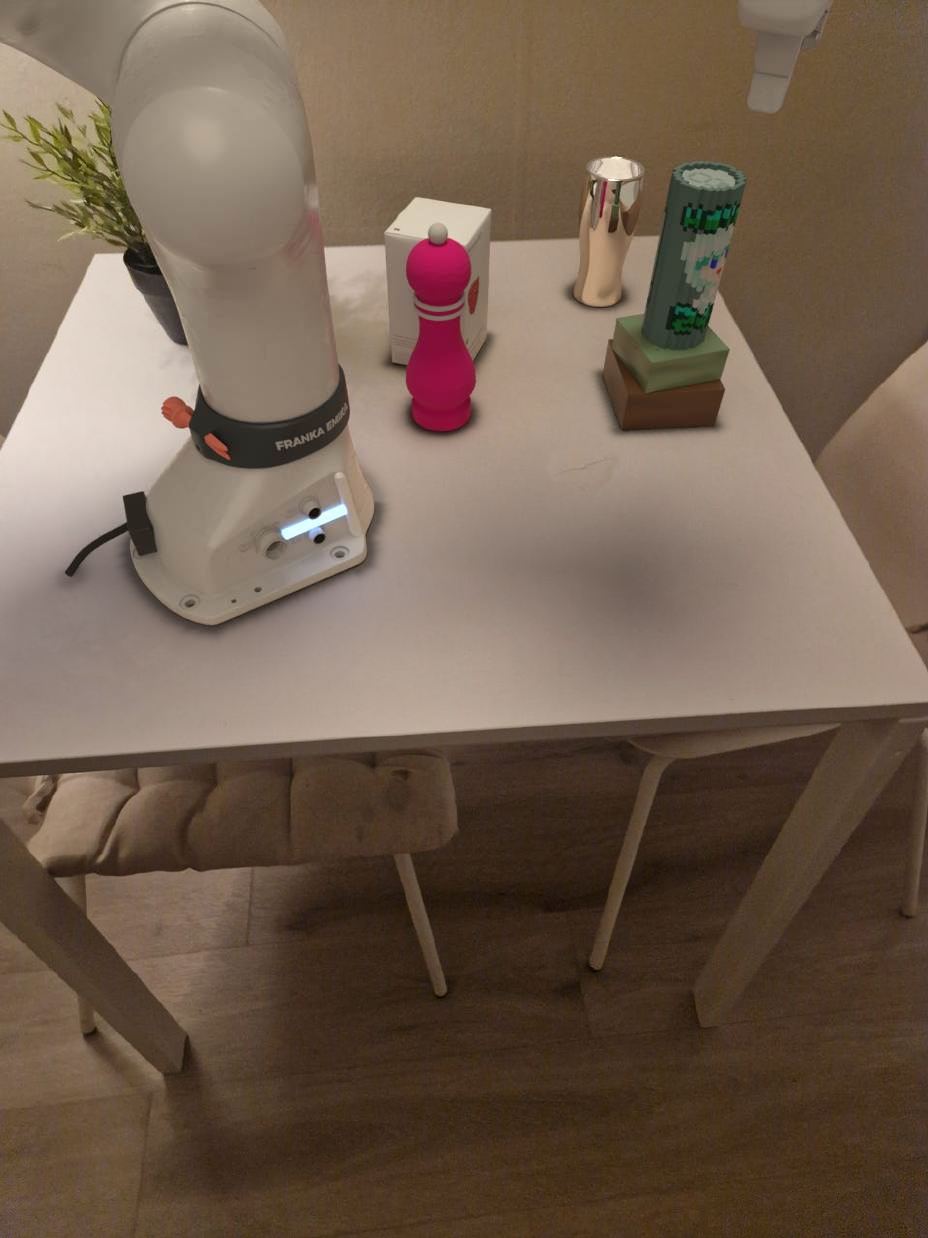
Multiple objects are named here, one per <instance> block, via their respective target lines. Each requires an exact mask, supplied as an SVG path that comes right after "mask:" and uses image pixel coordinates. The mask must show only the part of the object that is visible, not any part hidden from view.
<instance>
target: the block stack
mask: <svg viewBox="0 0 928 1238" xmlns="http://www.w3.org/2000/svg"><path fill="white" fill-rule="evenodd" d="M643 318H644V313H640V314H633V315H627V316H621V317H620V316H619V317H617V318H616V320H615V326H614V332H613V338H610V339H608V340H607V347H606V352H605V359H604V364H603V371H602V377H603V379H604V383H605V386H606V389H607V392H608V395H609V398H610V402H611V404H612V408H613V410H614V413H615V416H616V419H617V422H618V424H619V427H620V430H621V431H635V430H636V431H637V430H654V429H655V430H657V429H675V428H676V429H677V428H695V427H712V426H713V427H714V426H715V425H716V421H717V419H718V415H719V412H720V409H721V405H722V402H723V399H724V396H725V393H726V388H725V386H724V384H723V382H722V380H721V379H722V376H723V373H724V371H725V366H726V363H727V359H728V356H729V353H730V350H731V349H730V347H728V345H727V344H726V343H724V341H723V340H722V339H721V337H720V336H719V335H718V334H717V333H716V332H715V331H714V330H713V329H712V328H711V327H710V326H709V325H708V328H707V332H706V336H705V339H704V341H703V342H702V343H700V344H699V345H698V346H696V347H695V348H690V347H689V348H688V349H687V350H683V349H681V350H680V351H679V350H677V349H675V350H674V351H673V350H671V349H669V348H665V349H663V348H661V347H659V346H656V345H654V344H652V343H650V342H648V339H647V338H645V337H643V335H644V334H642V331H641V328H642V323H643Z"/></svg>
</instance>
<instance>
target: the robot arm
mask: <svg viewBox="0 0 928 1238" xmlns="http://www.w3.org/2000/svg"><path fill="white" fill-rule="evenodd" d="M833 2H834V0H737V4H736V7H737V20H738V23H739V25H740V26H741V27H743V28H745V29H748V30H754V31H757V35H756V41H755V53H754V67H753V74H752V79H751V83H750V85H749V91H748V94H747V99H746V105H747V107H748V108H749V110H750V111H753V112H758V113H763V114H770V115H773V114H775V113H777V112H778V111H780V109H781V107H782V106H783V104H784V102H785V100H786V98H787V95H788V92H789V89H790V85H791V82H792V79H793V75H794V72H795V69H796V67H795V65H796V62H797V59H798V56H799V53H800V51H805V52H809V51H811V50H813V49H814V48H816V46H817V44H818V42H819V41H820V39H821V38H822V35H823V32H824V29H825V26H826V22H827V19H828V16H829V13H830V10H831V7H832V5H833ZM0 43H1V44H4V45H6V46H9V47H11V48H13V49H15V50H17V51H19V52H21V53H23V54H25V55H27V56H28V57H30V58H32V59H34V60H35V61H37V62H40V63H41V64H43V65H45V66H46V67H48V68H50V69H51V70H53V71H55V72H57V73H58V74H60V75H61V76H63V77H64V78H66V79H67V80H70V81H71V82H73V83H75V84H77V85H78V86H80V87H81V88H82V89H84V90H86V91H87V92H89V93H90V94H92V95H93V96H95V97H96V98H97V99H99V100H100V101H102V102H103V103H104V104H105V105H107V106H108V107H109V108H110V109H111V114H110V115H111V117H110V134H111V142H112V148H113V152H114V157H115V161H116V164H117V168H118V172H119V175H120V178H121V181H122V184H123V187H124V190H125V193H126V195H127V197H128V200H129V203H130V205H131V207H132V209H133V211H134V214H135V215H136V217H137V218H138V221H139V224H140V226H141V229H142V231H143V233H144V235H145V238H146V241H147V243H148V245H149V247H150V250H151V253H152V254H153V256H154V259H155V261H156V264H157V265H158V267H159V270H160V272H161V274H162V276H163V278H164V280H165V282H166V284H167V287H168V290H169V291H170V294H171V296H172V298H173V301H174V304H175V307H176V309H177V311H178V312H177V313H178V316H179V319H180V322H181V326H182V329H183V332H184V337H185V339H186V343H187V345H188V350H189V352H190V356H191V359H192V363H193V366H194V370H195V374H196V377H197V380H198V383H199V384H198V388H197V393H196V398H195V404H194V409H193V408H192V407H191V406H189V405H187V404H186V402H185V400H183V399H182V398H180V397H179V396H169V397H168V398H166V399H165V400H164V401H163V402H162V406H161V407H160V410H161V415H162V416H163V417H164V418H165V419H166V420H167V421H169V422H170V423H172V426H174V427H175V428H176V429H181V430H182V429H183V430H184V429H187V428H188V429H189V433H190V436H188V438H187V440H186V441H184V443H183V445H182V446H181V447H180V449H179V450H178V451H177V453H176V454H175V456H174V457H173V458H172V460H171V461H170V462H169V463H168V465H167V466H166V467H165V468H164V470H163V471H162V472H161V473H160V475H159V476H158V477H157V478H156V480H155V481H154V482H153V483H152V485H151V486H150V487H149V489H148V490H147V493H146V492H145V491H144V490H141V491H137V492H133V493H132V492H131V493H129V494H124V495H122V501H123V508H124V513H125V519H126V522H124V523H122V524H121V525H118V526H117V527H115V528H113V529H111V530H109V531H107V532H105V533H104V534H101V535H99V536H98V537H97V538H95V539H94V540H92V541H91V542H89V543H88V544H87V545H85V546H84V547H83V548H82V549H81V550H80V551H79V552H78V553H77V554H76V555H75V556H74V558H73V559H72V561H71V562H70V564H69V565H68V566H67V568H66V569H65V570H64V575H65V576H67V577H69V578H72V577H73V576H74V575H75V573H76V572H77V570H78V569H79V567H80V566H81V565H82V564H83V562H85V560H86V558H87V557H89V556H90V555H91V554H92V553H93V552H95V550H97V549H98V548H100V547H102V546H103V545H105V544H106V543H109V542H110V541H112V540H113V539H115V538H117V537H119V536H121V535H123V534H125V533H127V532H128V536H129V537H130V540H129V551H130V556H131V560H132V563H133V566H134V568H135V571H136V573H137V575H138V577H139V578H140V579H141V581H142V583H143V584H144V585H145V586H146V588H147V589H148V590H149V591H150V593H152V595H154V597H156V599H157V600H159V602H160V603H161V604H163V605H164V606H166V607H167V608H168V609H169V610H171V611H172V612H174V613H175V614H176V615H178V616H180V617H182V618H184V619H186V620H188V621H191V622H194V623H197V624H201V625H206V626H216V625H220V624H223V623H225V622H228V621H229V620H232V619H234V618H237V617H239V616H242V615H244V614H245V613H248V612H250V611H253V610H255V609H257V608H261V607H262V606H264V605H267V604H269V603H272V602H274V601H276V600H279V599H281V598H284V597H286V596H288V595H290V594H292V593H295V592H297V591H300V590H301V589H304V588H307V587H308V586H312V585H314V584H316V583H318V582H320V581H323V580H324V579H328V578H330V577H333V576H334V575H337V574H339V573H341V572H344V571H346V570H348V569H351V568H353V567H355V566H357V565H360V564H361V563H363V562H364V561H365V560H366V557H367V554H368V547H367V546H368V545H367V540H366V535H367V532H368V529H369V527H370V525H371V522H372V521H373V517H374V514H375V498H374V494H373V491H372V489H371V487H370V485H369V484H368V482H367V479H366V478H365V476H364V474H363V471H362V469H361V466H360V462H359V460H358V458H357V454H356V451H355V448H354V443H353V440H352V436H351V431H350V428H349V427H350V426H349V422H350V421H349V420H350V418H351V417H350V416H351V406H350V398H349V393H348V386H347V381H346V375H345V372H344V368H343V367H342V365H341V364H340V363H339V358H338V352H337V344H336V337H335V328H334V321H333V314H332V305H331V299H330V291H329V290H330V289H329V283H328V274H327V263H326V254H325V243H324V235H323V227H322V218H321V208H320V207H321V206H320V200H319V199H320V198H319V192H318V190H319V189H318V183H317V181H318V180H317V174H316V165H315V158H314V157H315V156H314V149H313V142H312V141H313V140H312V136H311V132H310V126H309V122H308V116H307V112H306V107H305V102H304V97H303V94H302V91H301V88H300V84H299V79H298V74H297V70H296V65H295V61H294V60H295V59H294V56H293V53H292V50H291V47H290V44H289V43H288V40H287V37H286V36H285V33H284V32H283V29H282V28H281V27H280V25H279V23H278V22H277V21H276V19H275V18H274V16H272V14H271V13H270V12H269V11H268V9H267V8H266V7H265V6H264V5H263V4H262V2H260V1H259V0H0Z"/></svg>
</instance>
